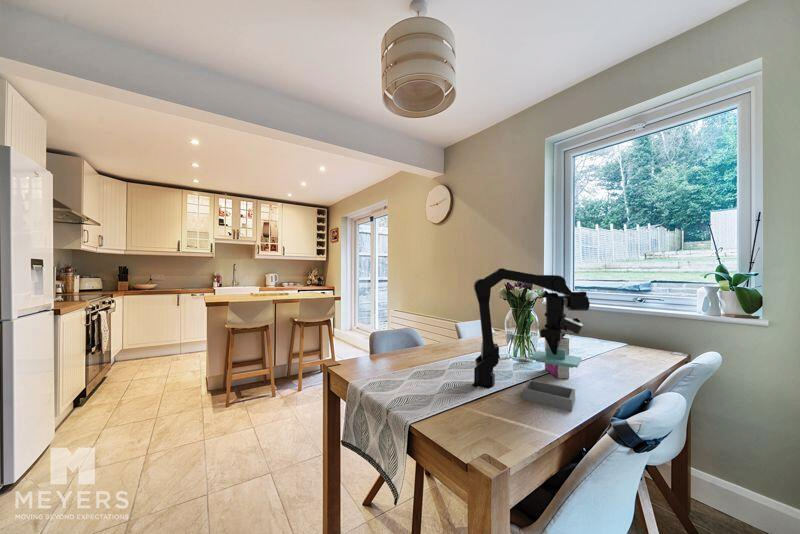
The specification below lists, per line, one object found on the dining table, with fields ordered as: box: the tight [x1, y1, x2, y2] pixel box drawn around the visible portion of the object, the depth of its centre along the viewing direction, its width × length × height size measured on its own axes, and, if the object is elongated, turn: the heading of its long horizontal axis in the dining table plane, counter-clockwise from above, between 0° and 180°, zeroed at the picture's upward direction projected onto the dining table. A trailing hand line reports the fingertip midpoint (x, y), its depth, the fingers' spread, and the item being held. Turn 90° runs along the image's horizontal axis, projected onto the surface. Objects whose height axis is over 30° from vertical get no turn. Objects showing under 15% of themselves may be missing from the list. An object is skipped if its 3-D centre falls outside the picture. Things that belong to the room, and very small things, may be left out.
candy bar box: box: [544, 335, 570, 380], centre depth 123 cm, size 11×5×16 cm, turn 179°
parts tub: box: [522, 379, 576, 412], centre depth 98 cm, size 14×10×4 cm
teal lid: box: [529, 347, 582, 369], centre depth 106 cm, size 15×11×5 cm
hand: (554, 354), depth 106 cm, fingers closed on teal lid
